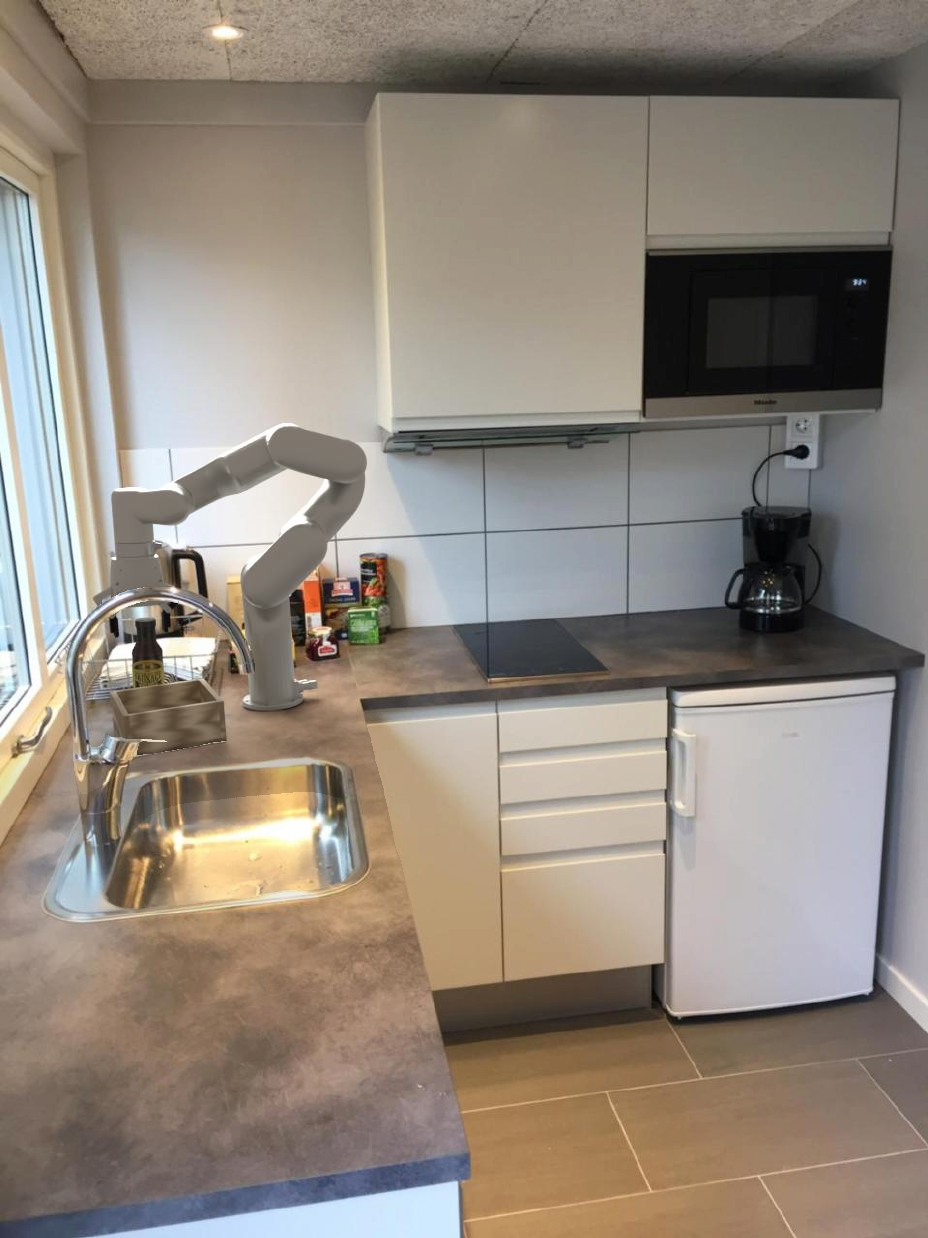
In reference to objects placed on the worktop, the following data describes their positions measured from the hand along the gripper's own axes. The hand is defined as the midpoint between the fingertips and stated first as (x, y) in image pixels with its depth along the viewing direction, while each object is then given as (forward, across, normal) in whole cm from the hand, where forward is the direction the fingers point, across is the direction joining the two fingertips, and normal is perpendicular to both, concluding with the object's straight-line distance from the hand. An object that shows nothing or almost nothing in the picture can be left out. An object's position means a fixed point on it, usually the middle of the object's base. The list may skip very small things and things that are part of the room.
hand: (141, 633), depth 205 cm
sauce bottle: (+17, -1, 0) cm, 17 cm away
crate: (+17, -1, +17) cm, 24 cm away
